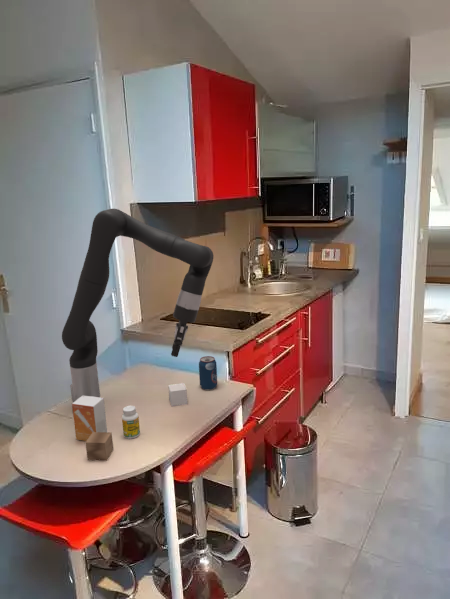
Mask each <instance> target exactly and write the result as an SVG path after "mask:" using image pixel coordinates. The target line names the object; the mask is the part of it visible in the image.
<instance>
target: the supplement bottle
mask: <svg viewBox="0 0 450 599" xmlns="http://www.w3.org/2000/svg"><path fill="white" fill-rule="evenodd" d="M122 412H123V414H122V415H121V423H122V434H123V437H124V438H126V439H129V440H130V439H131V440H132V439H137V437H139V436H140V434H141V428H140V418H139V413H138V412H137V409H136V406H135V405H127V406H124V407H123V408H122Z"/></svg>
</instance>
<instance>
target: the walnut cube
mask: <svg viewBox="0 0 450 599" xmlns="http://www.w3.org/2000/svg"><path fill="white" fill-rule="evenodd" d="M84 442H85V443H84V444H85V451H86V458H87V459H86V460H87V461H105V462H106V461H108V459H109V457H110V456H111V455H112V453H113V451H114V444H113V443H114V442H113V432H112V431H111V432H108V431H107V432H93V433H92V434H91V435H90V437H89V438H88V440H87V441H84Z"/></svg>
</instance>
